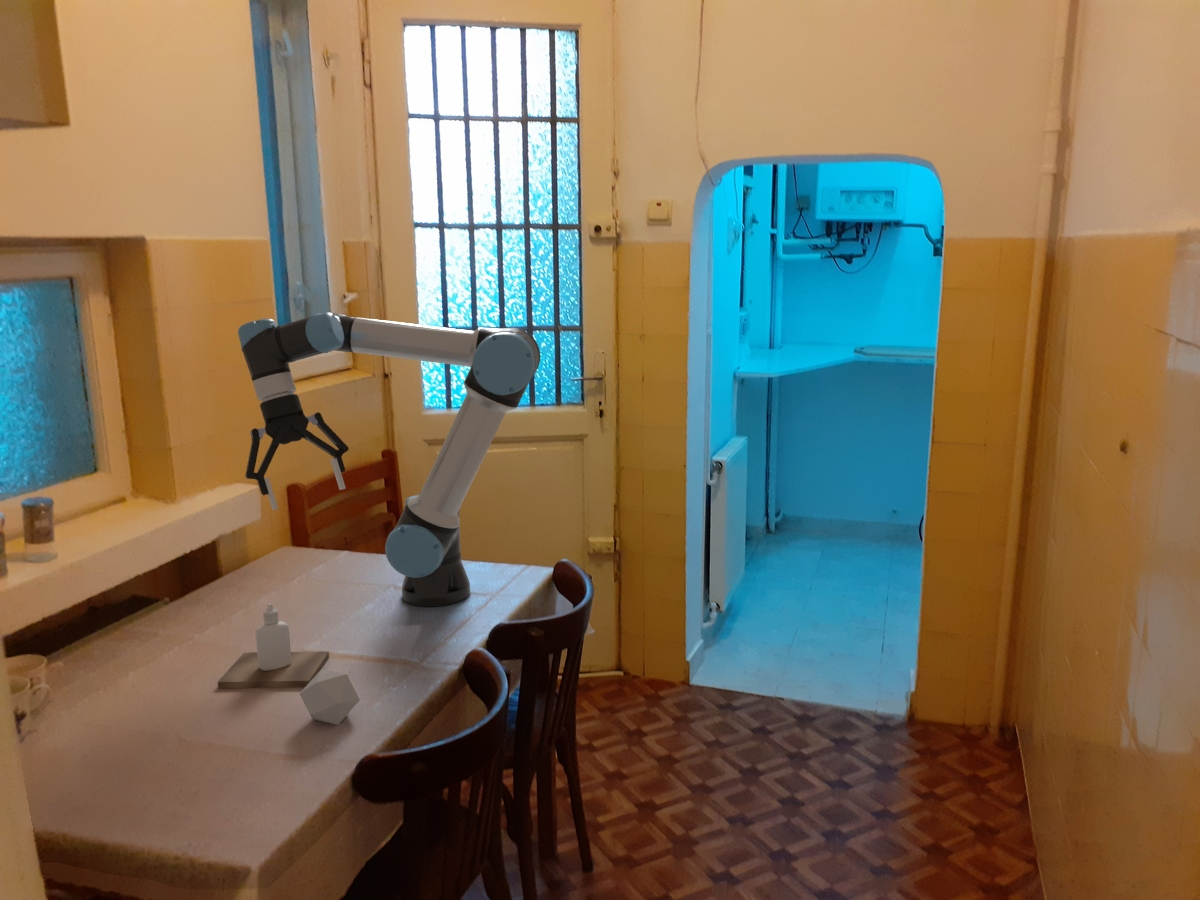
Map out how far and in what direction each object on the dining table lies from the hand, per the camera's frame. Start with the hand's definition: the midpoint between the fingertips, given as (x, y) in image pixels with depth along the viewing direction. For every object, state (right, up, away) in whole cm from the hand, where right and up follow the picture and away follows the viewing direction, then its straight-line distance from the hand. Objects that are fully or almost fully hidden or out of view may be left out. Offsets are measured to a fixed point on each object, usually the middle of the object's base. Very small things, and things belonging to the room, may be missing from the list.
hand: (309, 499), depth 175 cm
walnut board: (-1, -31, -16) cm, 35 cm away
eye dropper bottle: (-1, -30, -16) cm, 34 cm away
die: (+14, -34, -32) cm, 49 cm away
